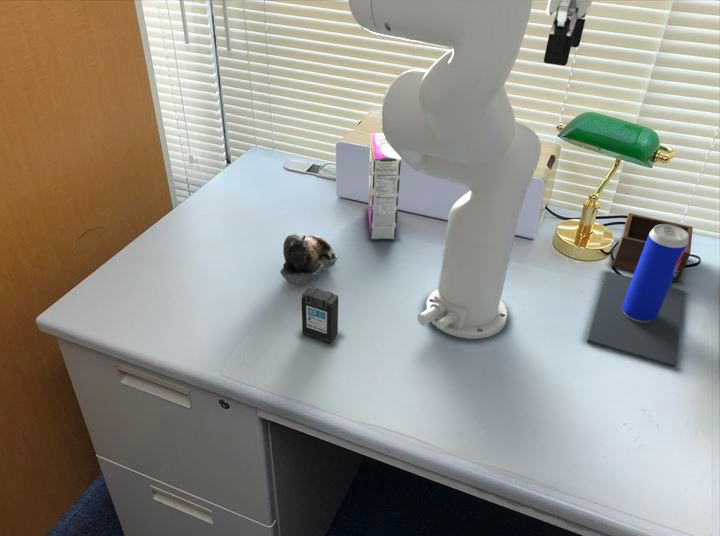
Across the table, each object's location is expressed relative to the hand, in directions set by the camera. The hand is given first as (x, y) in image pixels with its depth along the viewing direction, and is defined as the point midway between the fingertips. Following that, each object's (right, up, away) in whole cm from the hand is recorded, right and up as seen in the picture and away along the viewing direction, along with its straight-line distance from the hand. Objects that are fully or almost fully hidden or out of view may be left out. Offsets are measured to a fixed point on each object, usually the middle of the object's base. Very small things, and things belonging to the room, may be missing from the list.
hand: (561, 54), depth 93 cm
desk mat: (+14, -39, +6) cm, 42 cm away
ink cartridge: (-36, -42, +2) cm, 55 cm away
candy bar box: (-24, -22, +28) cm, 43 cm away
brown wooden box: (+22, -30, +18) cm, 41 cm away
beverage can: (+14, -39, +5) cm, 42 cm away
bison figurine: (-38, -32, +15) cm, 52 cm away
